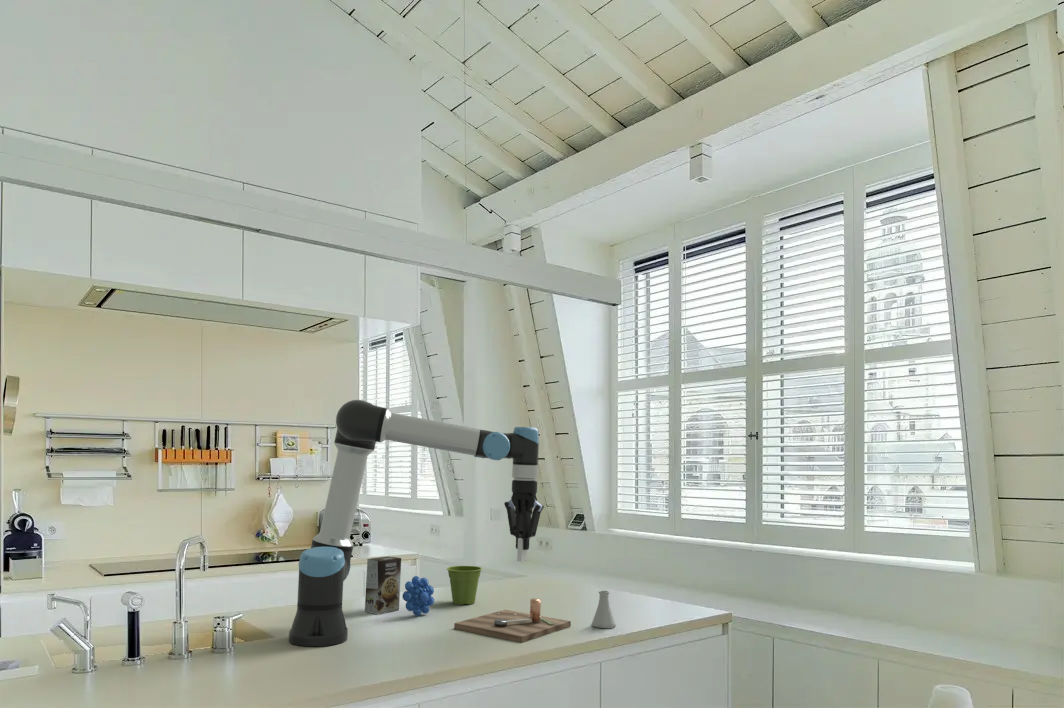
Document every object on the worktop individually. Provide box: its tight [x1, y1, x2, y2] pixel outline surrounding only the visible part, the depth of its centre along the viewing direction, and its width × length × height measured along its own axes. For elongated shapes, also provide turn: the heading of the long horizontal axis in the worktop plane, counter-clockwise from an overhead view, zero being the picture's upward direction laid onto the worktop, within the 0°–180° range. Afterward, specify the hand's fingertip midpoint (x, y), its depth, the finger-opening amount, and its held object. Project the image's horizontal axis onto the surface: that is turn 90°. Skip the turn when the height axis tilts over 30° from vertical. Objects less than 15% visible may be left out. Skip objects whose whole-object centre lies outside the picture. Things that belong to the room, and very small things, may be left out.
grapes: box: [402, 575, 435, 617], centre depth 247 cm, size 12×7×12 cm, turn 134°
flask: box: [591, 590, 616, 629], centre depth 240 cm, size 7×7×10 cm
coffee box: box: [364, 556, 402, 615], centre depth 254 cm, size 9×6×16 cm
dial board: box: [453, 609, 572, 643], centre depth 235 cm, size 24×24×2 cm
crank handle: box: [494, 597, 542, 626], centre depth 233 cm, size 15×4×6 cm, turn 117°
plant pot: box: [446, 565, 483, 606], centre depth 268 cm, size 12×12×11 cm
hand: (521, 560), depth 238 cm, fingers closed
